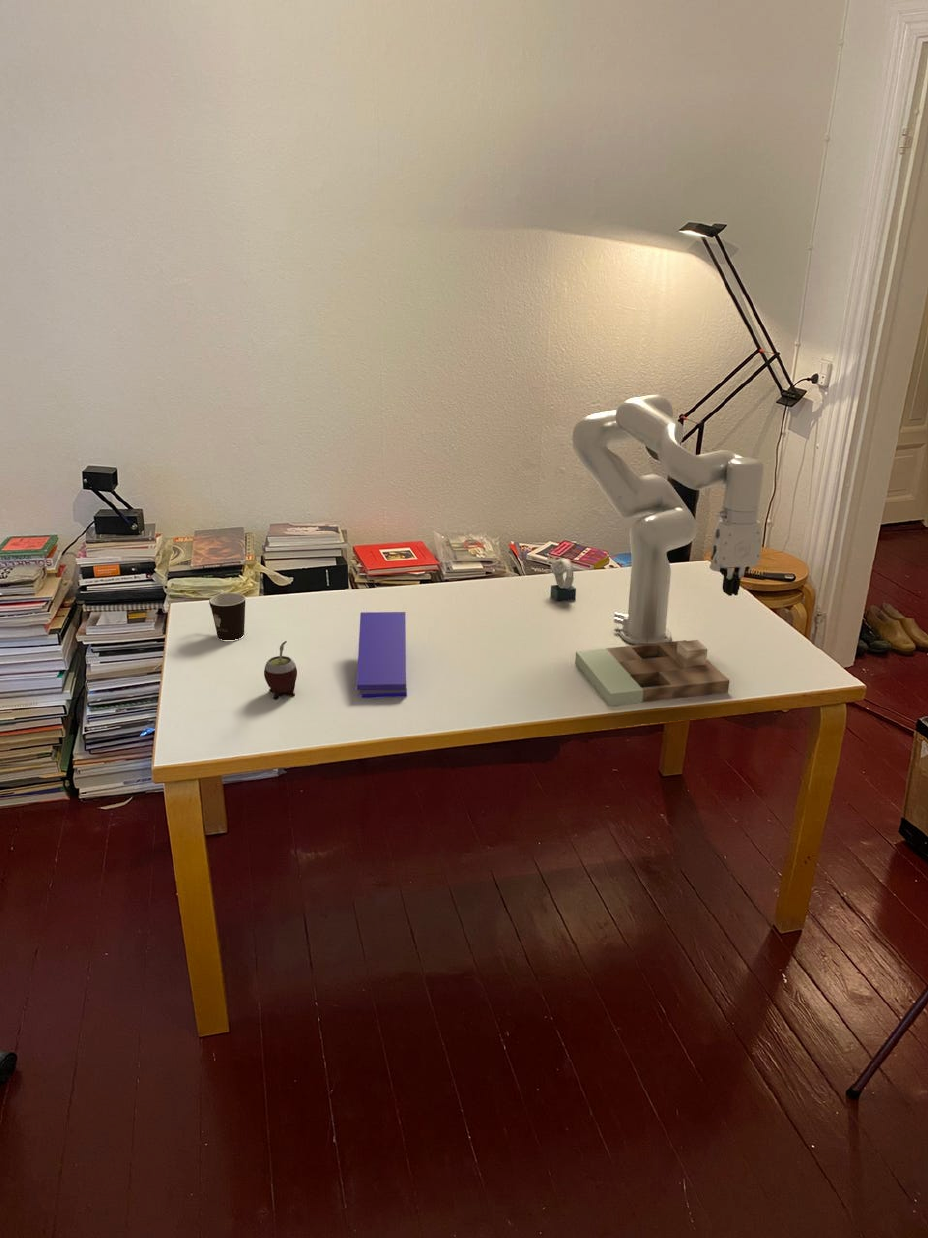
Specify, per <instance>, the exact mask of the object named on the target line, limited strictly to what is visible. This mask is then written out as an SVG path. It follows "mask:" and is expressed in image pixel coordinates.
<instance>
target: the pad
mask: <svg viewBox="0 0 928 1238" xmlns="http://www.w3.org/2000/svg"><path fill="white" fill-rule="evenodd" d="M606 648H607V647H606ZM606 648H597V649H596V648H595V649H588V650H586V649H585V650H578V651H575V659H574V660H575V665H576V666H577V667H578V669H579V670H580V671H581V672H582V673H583V674H584V676H585V677H586V678H587V680H588V681H589V682H590V683H591V684H592V686H593V687H594V688H595V690H596V691H597V692H598V693H599V694H600V696H601V697H602V698H603V699H604V700H605V702H606V703H607V704H608V706H610V707H614V706H623V705H628V704H629V705H632V704H640V703H643V702H642V700H643V689H642V688H641V687H640V686H639V685H638V684H637V682H636V681H635V680H634V679H633V678H632V677H631V676H630V675H629V673H628V672H627V671H626V670H625V669H624V668H623V667H622V666H621V665H620V663H619V662H618V661H617V660H616V659H615V658H614V657H613V656H612V655H611V653H610V652H609V651H608V650H607V649H606Z"/></svg>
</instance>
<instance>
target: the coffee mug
mask: <svg viewBox="0 0 928 1238" xmlns="http://www.w3.org/2000/svg"><path fill="white" fill-rule="evenodd" d="M208 604H209V607H210V610H211V615H212V617H213V622H214V626H215V627H214V628H215V632H216V634H217V635H216V636H217V639H218V638H219V639H222V640H235V639H239V638H241V637H242V636H243V635H244V636H245V625H246V624H245V622H246V620H245V619H246V616H245V615H246V596H245V594H242V593H239V592H224V593H223V592H222V593H218V594H215V595H213V596H211V597H210V598H209V601H208ZM219 639H218V640H219Z"/></svg>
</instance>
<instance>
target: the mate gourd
mask: <svg viewBox="0 0 928 1238" xmlns="http://www.w3.org/2000/svg"><path fill="white" fill-rule="evenodd" d="M286 643H287V640H285V641H284V642H282V643H281V644H280V646H279V655H277V656H274V657H273V656H272V657H271V658H269V659H268V660H267V662H266V663H265V666H264V671H263V676H264V679H265V682H266V684H267V686H268V687H269V689H268V691H269V693H273V695H274V696H273V699H272V700H276V701H277V700H278V699H279V698H281V697H282V696H287V697H292V698H293V697H295V696H296V693H294V691H295V688H296V680H297V676H298V670H297V669H298V668H297V665H296V663H295V662H294V660H293V659H292V658H290V657H289V656H285V655H283V651H284V648H285V647H284V646H285V645H286Z"/></svg>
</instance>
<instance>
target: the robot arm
mask: <svg viewBox="0 0 928 1238" xmlns="http://www.w3.org/2000/svg"><path fill="white" fill-rule="evenodd" d="M673 416H674V410H673V406H672V404H671V403H670V401H669V400H668V399H667V398H666V397H664V396H662V395H660V394H649V395H643V396H637V397H630V398H628V399H626V400H624V401H623V402H621V404H620V403H619V406H618V407H617V409H612V410H607V411H601V412H597V413H592V414H589V415H586V416H583V417H582V418H581V419H579V420H578V421H577V422H576V424H575V425H574V427H573V432H572V448H573V450H574V454H575V456H576V458H577V460H578V461H579V463H580V464H581V465H582V466H583V468H584V469H585V471H586V472H588V473H589V474H590V476H591V477H592V478H593V480H594V481H595V482H596V483H597V485H598V487H599V488H600V490H601V491H602V493H603V494H604V495H605V497H606V498H607V500H608V501H609V503H610V504H611V506H612V507H613V508H614V510H615V511H616V512H617V514H618V515H619V516H620V517H621V518H624V519H629V520H630V519H635V518H639V517H640V518H639V519H637V520H636V521H635V522H634V523H633V524H632V526H631V527H630V530H629V543H630V552H631V554H630V555H631V567H630V584H629V585H630V586H629V595H628V597H629V598H628V609H627V610H628V611H627V614H625V613H621V612H617V611H616V612H615V613H614V616H613V622H614V623H615V624H618V625H621V626H622V627H621V628H620V631H619V633H620V634H619V635H620V637H621V638H622V639H623V640H624V641H625V642H628V643H630V644H633V645H644V644H653V643H663V642H671V640H672V631H670V629H668V628H667V619H668V611H669V610H668V609H669V599H670V586H671V574H672V569H671V565H670V564H671V563H670V561H669V560H668V556H667V554H668V552H669V551H672V550H676V549H678V548H681V547H685V546H687V545H689V544H690V543H692V542H693V541H694V539H695V538H696V535H697V530H698V527H697V521H696V519H695V517H694V516H693V513H692V512H691V510H690V509H689V508H688V506H687V505H686V503H685V502H684V501H683V499H682V498H681V496H680V495H679V494H678V492H677V491H676V489H674V486H673V485H672V484H671V482H670V481H668V479H666V478H664V477H663V476H661V475H658V474H650V473H649V474H645V475H640V476H639V475H636V474H635V473H634V472H633V471H632V469H631V467H630V466H628V464H627V462H626V461H625V460H624V459H623V458H622V457H621V456H619V454H616V453H615V452H614V451H612V450H611V449H609V448H608V447H613V446H618V445H623V444H627V443H631V442H633V441H638V442H639V443H641V444H642V445H644V446H645V447H646V448H648V449H650V450H651V451H652V452H654V453H656V454H657V459H658V462H659V463H660V465H661V467H662V469H663V470H664V472H665V473H666V474H667V475H668V476H669V477H670V478H672V479H674V480H675V481H677V482H678V483H679V484H682V486H685V487H687V488H689V489H692V490H694V491H703V490H707V489H710V488H714V487H719V486H724V493H723V495H724V496H723V505H722V506H721V510H720V511H717V513H716V517H717V518H720V519H719V520H718V523H717V524H716V528H715V531H714V535H713V540H712V544H711V553H710V560H711V562H710V565H709V569H710V570H712V571H714V572H718V573H720V574H721V576H722V577H723V578H722V592H724V593H725V594H726V595H727V596H729V597H732V596H733V595H734V596H738V594H739V591H740V588H741V587H740V586H741V580H742V578H744V576H745V574H746V573H747V572H748V571H749V570H751V569H754V568H756V567H758V564H759V563H760V561H761V556H762V525H761V521H760V520H758V516H759V507H760V499H761V492H762V483H763V476H764V464H763V463H762V461H761V460H759V459H756V458H752V457H744V456H742V455H740V454H738V453H736V452H734V451H733V450H732V451H731V450H727V449H721V450H720V449H719V450H715V451H710V452H707V453H701V454H694V453H693V452H691V451H689V450H688V449H686V448H685V447H683V446H682V445H681V443H682V441H683V439H684V435H685V434H684V433H685V430H684V426H683V424H682V423H681V422H680V421H678V420H677V419H675V418H674V417H673Z"/></svg>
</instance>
